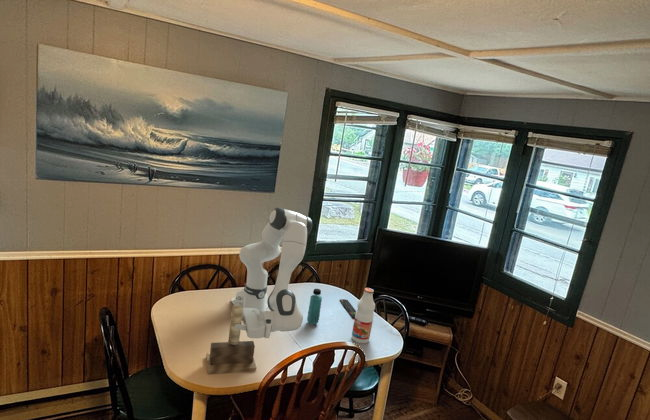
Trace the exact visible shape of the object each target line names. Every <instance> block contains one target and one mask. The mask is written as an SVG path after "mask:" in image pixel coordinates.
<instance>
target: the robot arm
mask: <svg viewBox="0 0 650 420" xmlns="http://www.w3.org/2000/svg"><path fill="white" fill-rule="evenodd" d="M312 228H313V220H312V219H311V217H309V216H307V215H304V214H301V213H300V212H298V211H297V212H296V211H293V210H290V209H285V208H284V207H283V208H282V207H275V208H274V209H272V211H271V212H270V214H269V217H268V222H267V224H266V225H265V227H264V228H263V230H262V231H261V238H262V240H261V241H259V242H254V243H249V244H247V245H244V246H243V247H241V248H240V250H239V253H238V255H239V256H238V257H239V259H240V262H242V264H244V265H245V266H246V271H247V275H246V282H243V286H244V287H243V288H242V289H240V290H238V291H237V292H236V295H235V297H233V298H231V300H230V301H231V303H232V306H234V305H240V306H242V307H243V311H242V320H241V322H243V324H242V323H241V324H239V323H235V324H234V328H235V329H240V331H245V333H246V336H247V338H249V339H263V338H264V339H270V336H271V333H275V332H294V331H297V330H299V329H300V327H302V325H303V324H302V323H303V319H304V318H303V317H304V316H303V313H302V311H301V310H300V308H299V306H298V304H297V300H296V295H295V294H294V292H293V291H292V290H290V289H288V288H289V285H290V281H291V277H292V273H293V271H294V270H295V269H296V268H297V266H298V265H299V264H300V263H301V262H302V261H303V260H304V256H305V253H306V250H307V249H306V248H307V242H308V236H309V234H311V232H312ZM281 242H282V245H281V246H280V244H281ZM279 256H280V259H279V265H278V266H279V267H278V269H277V274H276V279H275V283H274V287H273V290H272V291H271V293H270V294H269V296H268V293H267V291H268V278H269V277H268V276H269V273H268V271H267V270H266V269H265V268H264V267H263V264H264V263H265V262H269V261H272V260H274V259H276V258H278V257H279ZM267 309H269V310H267Z"/></svg>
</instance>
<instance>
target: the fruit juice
mask: <svg viewBox="0 0 650 420" xmlns="http://www.w3.org/2000/svg"><path fill="white" fill-rule="evenodd" d="M374 292H375V291H374V289H373V288H372V287H371V288H370V287H365V288H364V290H363V294H362V297H361V298H360V299H358V302H357V308H356V309H357V310H356V314H355V319H353V326H352V330H351V331H352V332H351V339H352V341H354V342H355V343H358V344H367V343H368V342H369V341H370V337H371V333H372V328H373V323H374V312H375V309H376V304H375V302H374V297H373V294H374Z"/></svg>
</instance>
